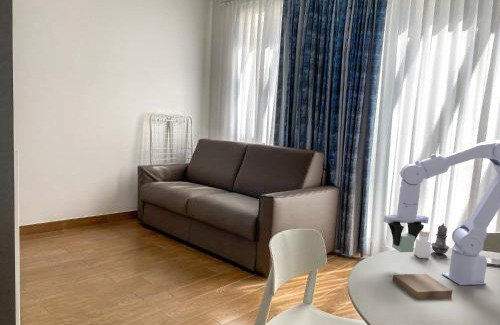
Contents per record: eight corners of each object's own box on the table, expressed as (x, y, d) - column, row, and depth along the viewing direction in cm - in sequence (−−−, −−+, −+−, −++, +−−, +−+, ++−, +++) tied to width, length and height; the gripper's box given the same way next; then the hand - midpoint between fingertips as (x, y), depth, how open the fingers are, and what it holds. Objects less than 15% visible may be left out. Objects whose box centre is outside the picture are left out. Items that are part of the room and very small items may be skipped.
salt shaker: (450, 259, 136) (454, 226, 135) (432, 256, 138) (436, 224, 136) (445, 253, 142) (449, 222, 141) (428, 251, 143) (432, 220, 142)
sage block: (404, 247, 125) (406, 232, 124) (413, 252, 120) (415, 236, 120) (392, 247, 124) (393, 232, 123) (400, 252, 119) (402, 236, 119)
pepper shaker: (429, 259, 135) (433, 232, 134) (418, 258, 135) (421, 232, 134) (424, 255, 139) (427, 229, 138) (413, 254, 139) (416, 228, 138)
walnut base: (425, 280, 116) (425, 273, 116) (451, 297, 106) (452, 290, 106) (392, 281, 114) (393, 274, 114) (416, 299, 103) (417, 291, 103)
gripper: (420, 200, 126) (415, 240, 127) (380, 199, 122) (375, 240, 124) (435, 205, 119) (429, 247, 120) (393, 204, 116) (388, 248, 117)
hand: (403, 244), depth 122 cm, fingers closed on sage block, 4 cm apart
